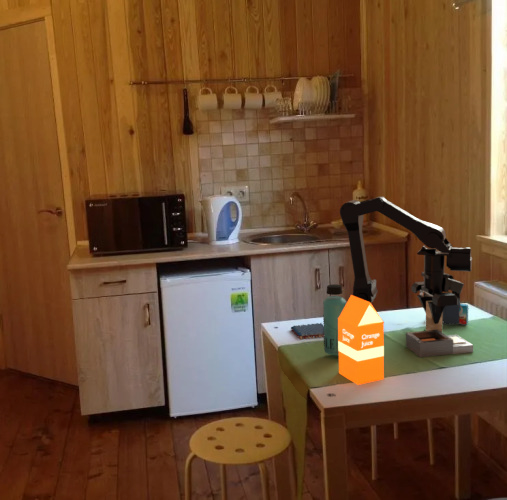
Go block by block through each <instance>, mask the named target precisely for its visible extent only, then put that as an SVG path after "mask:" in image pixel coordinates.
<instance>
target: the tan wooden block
mask: <svg viewBox="0 0 507 500" xmlns="http://www.w3.org/2000/svg"><path fill="white" fill-rule="evenodd" d="M428 302H431V301H426V313H425V331H428V330H439V331H440V332H442V333H443V322H442V315H441V317H440V320H439V323H438V324H435V323H434V321H433V318H432V314H431V311H430V308H429V304H428Z"/></svg>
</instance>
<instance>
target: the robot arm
mask: <svg viewBox="0 0 507 500" xmlns="http://www.w3.org/2000/svg"><path fill="white" fill-rule="evenodd" d="M374 212H378V213H380V214H382V215H383V216H385V217H386V218H387V219H390V220H392V221H393V222H395V223H397V224H398V225H400V226H402V227H403V228H405V229H407V230H409V231H410V232H411V233H412V234H413V235H415V237H416V238H417V239H418V240H419V241H420V242H421V243H422V244H424V245H423V246H421V248H420V249H419V250H418V251H417V253H416V254H417V255H418V256H422V255H423V271H421V276H422V277H423V281H415V282H413V283H412V285H411V292H412V293H413V294H417V293H418V292H419V294H417V295H416V297H417V299H418V300H419V302H420V304H421V306H422V308H423V310H424V312H425V314H426V301H431V302H428V304H429V308H430V311H431V314H432V318H433V321H434V323H435V324H438V323H439V320H440V317H441V315H442V312H443V310H444V308H445V306H450V305H458V297H457V296H456V295H454V294H452V291H455V292H457V293H459V294H460V295H461V294H462V291H463V288H464V285H465V283H463V282H461V281H459V280H456V279H455V278H454V276H453V275H452V274H449V273H445V262H446V268H447V269H449V270H450V271H451V272H472V270H473V269H472V267H473V266H472V265H473V257H472V247H467V246H466V247H453V245H452V243H450V241H449V240H448V239H447V237H446V236H447V234H446V230H445V229H444V228H443V227H441V226H439V225H437V224H434V223H431V222H428V221H425V220H422V219H420V218H417V217H416V216H414V215H412V214H411V213H409V212H408V211H406V210H404V209H403V208H401V207H399V206H397V205H396V204H395V203H393V202H391V201H389V200H387V199H386V198H385V196H377V197H375V198H370V199H366V200H365V199H364V200H362V201H360V200H356V199H353V200H349V201H347V202H345V203H343V204H342V205H341V206H340V208H339V215H340V218H341V221H342V224H343V226H344V228H345V230H346V231H347V236H348V237H347V238H348V242H349V249H350V255H351V262H352V263H351V264H352V269H353V275H354V280H353V287H352V295H353V296H355V297H358V298H360V299H363V300H365V301H368V302H370V303H371V304H372V302H374V300H375V299H376V297H377V293H378V292H379V291H378V289H377V279H372V278H371V276H370V275H369V274H370V273H369V269H368V268H369V267H368V262H367V253H366V249H365V242H364V235H363V234H364V233H363V226H364V215H367V214H371V213H374ZM445 256H446V257H445ZM445 258H446V261H445ZM450 291H451V292H450Z"/></svg>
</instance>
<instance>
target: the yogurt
mask: <svg viewBox="0 0 507 500" xmlns="http://www.w3.org/2000/svg"><path fill="white" fill-rule="evenodd" d="M442 323H443V312H442ZM468 323H469V305H468V304H466V303H460V308H459V324H458V325H462V326H463V325H464V326H468Z"/></svg>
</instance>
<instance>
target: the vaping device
mask: <svg viewBox="0 0 507 500" xmlns="http://www.w3.org/2000/svg"><path fill="white" fill-rule="evenodd" d="M451 293H452V294H454V295H456V296H457V297H458V305H450V306H445V308H444V310H443V322H442V324H444V325H460V324H459V308H460V304H461V294H459V293H457V292H455V291H451Z"/></svg>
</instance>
